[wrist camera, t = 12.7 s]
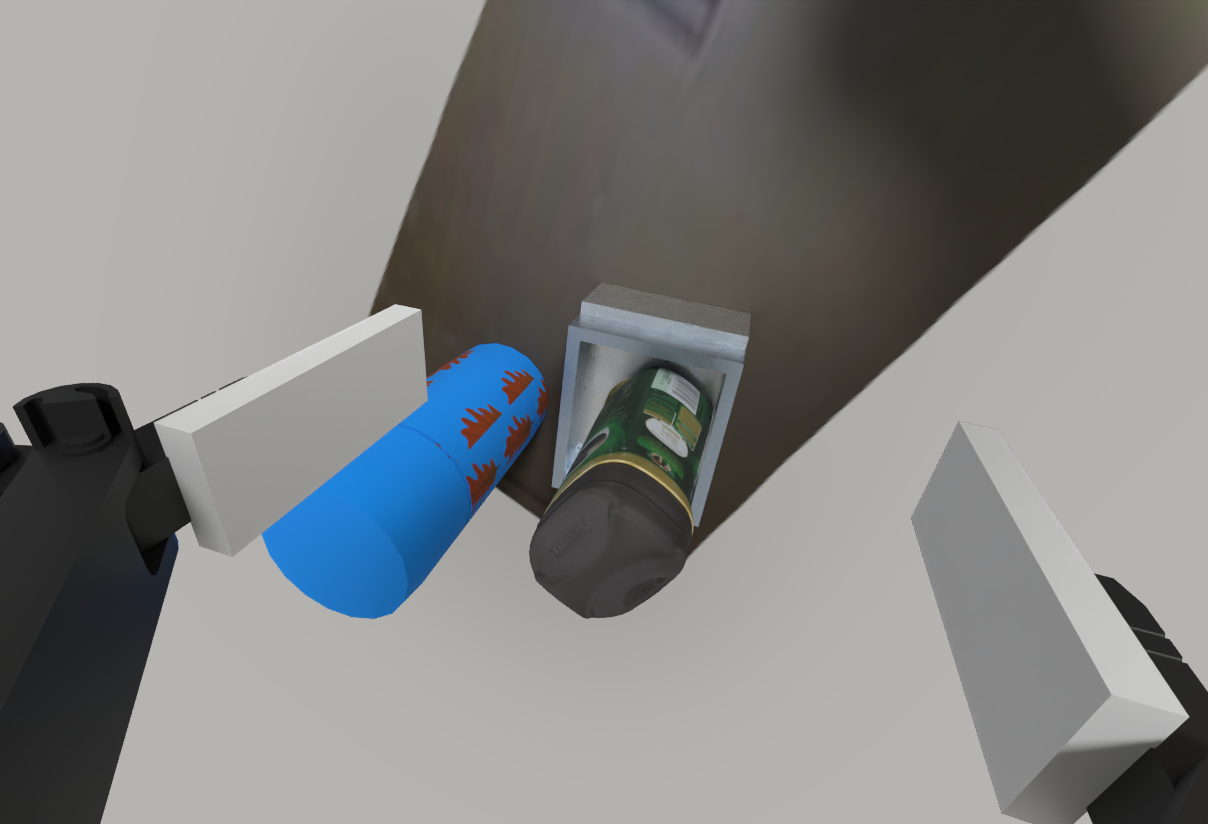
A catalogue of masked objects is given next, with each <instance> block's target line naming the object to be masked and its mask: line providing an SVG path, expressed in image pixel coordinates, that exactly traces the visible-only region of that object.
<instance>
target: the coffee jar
mask: <svg viewBox="0 0 1208 824" xmlns="http://www.w3.org/2000/svg"><path fill="white" fill-rule="evenodd" d="M711 419H712V414H711V409H710V406H709V404H708V402H707V400H706V399H705V398H704V396H703V395H702V394H701V393H700V392H699V391H698V390H697V389H696V388H695V387H694V386H693V385H692V384H691V383H690V382H689V381H687V380H686V379H685V378H683V377H682V376H680V375H679V374H677V373H676V372H674V371H672V370H670V369H667V368H663V367H649V368H646V369H643V370H641V371H639V372H638V373H636V374H635V375H634V376H633V377H631V378H630V379H629V380H628V381H627V382H626V383H625V384H623V385H622V386H621V387H620V388H619V389H618V390H617V392H616V393H615V394H614V395H613V396H612V397H611V398H610V399H609V401H608V402H607V403H606V404H605V406H604V407H603V409H602V410H601V412H600V413H599V415H598V417H597V418H596V420H595V422H594V424H593V426H592V428H591V430H590V432H589V434H588V436H587V438H586V440H585V442H584V444H583V446H582V448H581V449H580V451H579V453H578V455H577V457H576V459H575V461H574V462H573V464H572V466H571V468H570V470H569V472H568V473H567V475H566V477H565V479H564V480H563V482H562V484H561V486H560V487H559V489H558V491H557V492H556V494H555V496H554V497H553V499H552V501H551V503H550V504H549V506H548V508H547V509H546V511H545V513H544V514H543V516H542V518H541V520H540V522H539V523H538V526H537V529H536V531H535V533H534V535H533V537H532V541H531V544H530V551H529V554H530V562H531V566H532V569H533V572H534V575H535V579H536V581H537V582H538V583H539V584H540V585H541V586H543V588H545V589H546V590H547V591H548V592H549V593H550V594H552V595H553V596H554V597H555V598H556V599H558V600H559V601H560V602H562V603H563V604H564V605H566V606H567V607H569V608H570V609H571V610H573V611H574V612H576V613H577V614H579V615H580V616H582V617H583V618H587V619H588V618H606V617H614V616H618V615H622V614H624V613H627V612H629V611H631V610H632V609H634V608H635V607H637V606H638V605H640V604H641V603H643V602H645V601H646V600H648V599H649V598H651V597H652V596H653V595H655V594H656V593H657V592H659V591H660V590H661V589H662V588H663V587H665V586H666V585H667V584H668V583H669V582H670V581H672V580H673V579H674V578H675V577H676V576H677V575H678V574H679V573H680V572H681V570H682V569H683V567H684V565H685V562H686V559H687V554H688V548H689V544H690V540H691V537H692V534H693V514H692V509H691V506H690V502H691V497H692V493H693V489H694V485H695V480H696V476H697V472H698V468H699V464H700V461H701V457H702V454H703V451H704V447H705V444H706V441H707V437H708V433H709V429H710V424H711Z"/></svg>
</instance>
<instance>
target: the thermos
mask: <svg viewBox="0 0 1208 824" xmlns="http://www.w3.org/2000/svg"><path fill="white" fill-rule="evenodd" d="M426 382H427V395H428V401H427V402H425V403H424V404H423V405H422V406H420V407H419V408H418V409H417V410H415V411H414V412H413V413H412V414H410V415H409V416H408V417H407V418H405V419H404V420H403V421H402V422H400V423H399V424H398V425H397V426H395V427H394V428H393V429H392V430H390V431H389V432H388V433H387V434H385V435H384V436H383V437H382V438H380V439H379V440H378V441H377V442H375V443H374V444H373V445H372V446H370V447H369V448H368V449H367V450H365V451H364V452H363V453H362V454H360V455H359V456H358V457H357V458H355V459H354V460H353V461H352V462H350V463H349V464H348V465H347V466H345V467H344V468H343V469H342V470H340V471H339V472H338V473H337V474H335V475H334V476H333V477H332V478H330V479H329V480H328V481H327V482H325V483H324V484H323V485H322V486H320V487H319V488H318V489H317V490H315V491H314V492H313V493H312V494H310V495H309V496H308V497H307V498H305V499H304V500H303V501H302V502H300V503H299V504H298V505H297V506H295V507H294V508H293V509H292V510H290V511H289V512H288V513H287V514H285V515H284V516H283V517H282V518H280V519H279V520H278V521H277V522H275V523H274V524H273V525H272V526H270V527H269V528H268V529H267V530H265V531H264V532H263V533H262V536H263V539H264V541H265V544H266V547H267V549H268V552H269V554H270V556H271V557H272V559H273V560H274V562H275V563H276V564H277V566H278V567H279V568H280V570H281V571H282V573H283V574H284V576H285V577H286V578H288V579H289V580H290V581H291V582H292V583H293V584H294V585H295V586H296V587H297V588H299V589H300V590H301V591H302V592H303V593H304V594H305V595H307V596H308V597H310V598H312V599H313V600H315V601H316V602H318V603H320V604H321V605H323V606H325V607H326V608H328V609H331V610H333V611H336V612H339V613H342V614H345V615H348V616H350V617H358V618H371V619H375V618H378V617H382V616H385V615H388V614H392V613H393V612H394V611H395V610H396V609H397V608H398V607H399V606H400V605H401V604H402V603H403V602H404V601H405V600H406V599H407V598H408V597H409V596H410V595H411V594H412V593H413V592H414V591H415V590H416V589H417V588H418V587H419V586H420V585H421V584H422V583H423V581H424V580H425V579H426V577H427V576H428V575H429V573H430V572H431V571H432V569H433V568H434V567H435V566H436V564H437V563H438V562H439V560H440V559H441V557H442V556H443V555H444V554H445V552H446V551H447V550H448V548H449V547H450V546H451V544H452V543H453V542H454V540H455V539H456V538H457V536H458V535H459V534H460V533H461V531H462V530H463V528H464V527H465V526H466V524H467V523H468V522H469V521H470V519H471V518H472V517H473V515H474V514H475V512H476V511H477V510H478V509H479V507H480V506H481V505H482V503H483V502H484V501H485V500H486V498H487V497H488V496H489V494H490V493H491V492H492V490H493V489H494V488H495V486H496V485H497V484H498V482H499V481H500V480H501V478H502V477H503V476H504V474H505V473H506V472H507V470H508V469H509V468H510V467H511V465H512V464H513V463H514V461H515V460H516V459H517V457H518V456H519V455H520V453H521V452H522V451H523V449H524V448H525V447H526V445H527V444H528V443H529V441H530V440H531V439H532V437H533V436H534V434H535V432H536V431H537V429H538V428H539V426H540V424H541V423H542V421H543V420H544V417H545V414H546V411H547V408H548V392H547V387H546V384H545V382H544V380H543V377H542V375H541V373H540V371H539V370H538V369H537V368H536V366H535V365H534V364H533V363H532V362H531V361H530V360H529V358H528V357H526V356H524V355H523V354H521V353H520V352H518V351H517V350H515V349H513V348H512V347H508V346H504V345H500V344H496V343H492V344H482V345H477V346H475V347H474V348H472V349H470V350H468V351H466V352H465V353H463V354H461V355H460V356H458V357H456V358H455V359H453V360H451V361H450V362H448V363H446V364H445V365H443V366H442V367H441V368H439V369H438V370H436V371H435V372H434V373H432V374H431V375H430V376H428V377H427V378H426Z"/></svg>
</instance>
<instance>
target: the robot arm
mask: <svg viewBox="0 0 1208 824" xmlns="http://www.w3.org/2000/svg"><path fill="white" fill-rule="evenodd" d="M427 401H428V395H427V382H426V369H425V356H424V342H423V329H422V316H421V310H420V309H415V308H410V307H406V306H401V305H396V304H395V305H393V306H391V307H389V308H387V309H385V310H383V311H381V312H379V313H377V314H375V315H373V316H371V317H369V318H367V319H365V320H363V321H361V322H359V323H357V324H354V325H352V326H350V327H348V328H346V329H344V330H343V331H340V332H338V333H336V334H334V335H332V336H330V337H328V338H326V339H324V340H322V341H320V342H318V343H316V344H314V345H312V346H309V347H308V348H305V349H303V350H301V351H299V352H297V353H295V354H293V355H291V356H289V357H287V358H285V359H283V360H281V361H279V362H277V363H275V364H273V365H271V366H269V367H266V368H264V369H262V370H260V371H258V372H256V373H254V374H252V375H250V376H248V377H244V378H241V379H239V380H237V381H234V382H233V383H230V384H228V385H226V386H224V387H222V388H220V389H219V391H217V392H216V391H214V392H212V393H210V394H208V395H206V396H204V397H202V398H201V400H199V401H198V400H195V401H193V402H191V403H189V404H187V405H185V406H183V407H181V408H179V409H177V410H175V411H173V412H171V413H169V414H167V415H165V416H162V417H160V418H158V419H156V420H154V421H152V422H150V423H148V424H146V425H144V426H142V427H140V428H138V429H136V430H134V429H133V426H132V424H131V421H130V419H129V416H128V414H127V411H126V409H125V406H124V404H123V401H122V399H121V396H120V393H119V391H118V390H117V389H115V388H114V387H113V386H111V385H106V384H101V383H79V384H72V385H65V386H59V387H55V388H52V389H48V390H44V391H41V392H38V393H36V394H34V395H31V396H29V397H26V398H24V399H22V400H21V401H20V402H18V403H17V404H15V405H14V406H13V409H14V410H15V413H16V415H17V416H18V418H19V420H20V422H21V424H22V426H23V428H24V430H25V432H26V434H27V436H28V438H29V440H30V442H31V444H32V446H28V445H15V444H14V443H13V441H12V439H11V437H10V435H9V433H8V431H7V429H6V428H5V426H4V424H3V423H1V422H0V824H100V823H101V819H102V816H103V812H104V809H105V805H106V801H107V798H108V795H109V791H110V788H111V784H112V781H113V777H114V774H115V770H116V767H117V763H118V760H119V755H120V753H121V749H122V746H123V742H124V739H125V735H126V732H127V728H128V724H129V721H130V717H131V714H132V710H133V707H134V703H135V700H136V696H137V693H138V689H139V686H140V682H141V679H142V675H143V672H144V668H145V665H146V661H147V658H148V654H149V651H150V647H151V644H152V640H153V636H154V633H155V630H156V626H157V623H158V619H159V616H160V612H161V609H162V605H163V602H164V598H165V595H166V591H167V588H168V584H169V580H170V577H171V574H172V570H173V567H174V563H175V560H176V556H177V553H178V540H177V537H176V535H175V532H176V531H178V530H179V529H180V528H182V527H183V526H185V525H186V524H188V523H189V522H191V524H192V527H193V530H194V532H195V535H196V538H197V540H198V543H199V546H202V547H204V548H208V549H210V550H213V551H216V552H219V553H222V554H225V555H228V556H231V557H233V556H234V555H236V554H237V553H238V552H239V551H241V550H242V549H243V548H244V547H245V546H247V545H248V544H249V543H250V542H252V541H253V540H254V539H256V538H257V537H258V536H259V535H260V534H262V533H263V532H264V531H265V530H267V529H268V528H269V527H270V526H272V525H273V524H274V523H275V522H277V521H278V520H279V519H280V518H282V517H283V516H284V515H285V514H287V513H288V512H289V511H290V510H292V509H293V508H294V507H295V506H297V505H298V504H299V503H300V502H302V501H303V500H304V499H305V498H307V497H308V496H309V495H310V494H312V493H313V492H314V491H315V490H317V489H318V488H319V487H320V486H322V485H323V484H324V483H325V482H327V481H328V480H329V479H330V478H332V477H333V476H334V475H335V474H337V473H338V472H339V471H340V470H342V469H343V468H344V467H345V466H347V465H348V464H349V463H350V462H352V461H353V460H354V459H355V458H357V457H358V456H359V455H360V454H362V453H363V452H364V451H365V450H367V449H368V448H369V447H370V446H372V445H373V444H374V443H375V442H377V441H378V440H379V439H380V438H382V437H383V436H384V435H385V434H387V433H388V432H389V431H390V430H392V429H393V428H394V427H395V426H397V425H398V424H399V423H400V422H402V421H403V420H404V419H405V418H407V417H408V416H409V415H410V414H412V413H413V412H414V411H415V410H417V409H418V408H419V407H420V406H422V405H423V404H424V403H425V402H427ZM911 519H912V523H913V526H914V529H915V533H916V536H917V539H918V543H919V546H920V549H921V552H922V556H923V558H924V562H925V565H926V569H927V572H928V575H929V578H930V582H931V585H932V588H933V591H934V594H935V598H936V601H937V604H938V607H939V611H940V614H941V617H942V620H943V624H944V627H945V630H946V633H947V637H948V640H949V643H950V647H951V650H952V653H953V657H954V660H955V663H956V666H957V670H958V673H959V676H960V679H961V683H962V686H963V689H964V693H965V696H966V699H967V702H968V705H969V709H970V712H971V715H972V718H973V722H974V725H975V728H976V732H977V735H978V738H979V741H980V745H981V748H982V751H983V754H984V758H985V761H986V764H987V767H988V770H989V774H990V777H991V781H992V784H993V787H994V790H995V794H996V797H997V800H998V803H999V807H1000V810H1001V813H1002V814H1006V815H1008V816H1011V817H1014V818H1017V819H1020V820H1023V821H1026V822H1029V823H1032V824H1074V823H1075V822H1076V821H1077V820H1078V819H1079V818H1080V817H1081V816H1082V815H1084V814H1085V813H1086V812H1087V811H1088V814H1089V816H1090V818H1091V821H1092V823H1093V824H1208V692H1207V690H1206V689H1205V688H1204V686H1203V685H1202V683H1201V682H1200V681H1199V679H1198V678H1197V677H1196V675H1195V674H1194V672H1193V671H1192V670H1191V668H1190V667H1189V666H1188V664H1187V663H1183V662H1182V656H1181V655H1180V653H1179V652H1178V650H1177V649H1176V648H1175V646H1174V645H1173V643H1172V642H1171V641H1170V639H1166V638H1165V633H1164V631H1163V630H1162V628H1161V627H1160V626H1159V624H1158V623H1157V621H1156V620H1155V619H1154V617H1153V616H1152V615H1151V613H1150V612H1149V610H1148V609H1147V608H1146V606H1145V605H1144V604H1143V603H1141V602H1140V601H1139V600H1138V599H1137V598H1136V597H1134V596H1133V595H1132V594H1131V593H1130V592H1129V591H1127V590H1126V589H1125V588H1124V587H1123V586H1121V584H1119V583H1118V582H1117V581H1116V580H1115V579H1113V578H1109V577H1106V576H1102V575H1098V574H1094V573H1093V572H1092V570H1091V569H1090V567H1089V566H1088V564H1087V563H1086V561H1085V560H1084V558H1083V557H1082V555H1081V554H1080V552H1079V551H1078V549H1077V548H1076V546H1075V545H1074V543H1073V542H1072V540H1071V539H1070V537H1069V536H1068V534H1067V533H1066V531H1065V530H1064V528H1063V527H1062V525H1061V524H1060V522H1059V521H1058V519H1057V518H1056V516H1055V515H1054V513H1053V512H1052V510H1051V509H1050V507H1049V506H1048V504H1047V503H1046V501H1045V500H1044V498H1043V497H1042V495H1041V494H1040V492H1039V491H1038V489H1037V488H1036V486H1035V485H1034V483H1033V482H1032V480H1031V479H1030V477H1029V476H1028V474H1027V473H1026V471H1025V470H1024V468H1023V467H1022V465H1021V464H1020V462H1019V461H1018V459H1017V458H1016V456H1015V455H1014V453H1013V452H1012V450H1011V449H1010V447H1009V446H1008V444H1007V443H1006V441H1005V440H1004V438H1003V437H1002V435H1001V434H1000V432H999V431H998V430H997V429H994V428H989V427H984V426H980V425H975V424H970V423H965V422H960V421H959V422H958V424H957V426H956V428H955V430H954V432H953V434H952V436H951V438H950V440H949V442H948V444H947V446H946V448H945V450H944V453H943V454H942V456H941V458H940V460H939V463H938V464H937V467H936V469H935V471H934V473H933V475H932V477H931V479H930V481H929V483H928V485H927V487H926V489H925V491H924V493H923V495H922V497H921V499H920V501H919V503H918V505H917V507H916V509H915V511H914V513H913V515H912V517H911Z"/></svg>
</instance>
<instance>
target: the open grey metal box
mask: <svg viewBox="0 0 1208 824" xmlns="http://www.w3.org/2000/svg"><path fill="white" fill-rule="evenodd" d="M750 320H751V313H746V312H741V311H737V310H732V309H727V308H722V307H717V306H712V305H708V304H703V303H698V302H693V301H688V300H683V299H679V298H674V297H669V296H664V295H659V294H654V293H650V292H645V291H640V290H635V289H630V288H625V287H621V286H616V285H611V284H606V283H601V284H600V285H599V286H598V287H597V288H596V289H595V290H593V291H592V292H591V293H590V294H589V295H588V296H587V297H586V298H585V299H584V300H583V301H582V305H581V314H580V315H579V316H578V317H577V318H576V319H575V320H574V321H572V322H571V323H570V324H569V327H568V337H567V346H566V356H565V365H564V375H563V384H562V394H561V403H560V413H559V422H558V432H557V441H556V451H555V460H554V469H553V479H552V487H554V488H558V489H559V487H560V486H561V484H562V482H563V480H564V479H565V477H566V475H567V473H568V472H569V470H570V468H571V466H572V464H573V462H574V461H575V459H576V457H577V455H578V453H579V451H580V449H581V448H582V446H583V444H584V442H585V440H586V438H587V436H588V434H589V432H590V430H591V428H592V426H593V424H594V422H595V420H596V418H597V417H598V415H599V413H600V412H601V410H602V409H603V407H604V406H605V404H606V403H607V402H608V401H609V399H610V398H611V397H612V396H613V395H614V394H615V393H616V392H617V390H618V389H619V388H620V387H621V386H622V385H623V384H625V383H626V382H627V381H628V380H629V379H630V378H631V377H633V376H634V375H635V374H636V373H638V372H639V371H641V370H643V369H646V368H649V367H663V368H667V369H670V370H672V371H674V372H676V373H677V374H679V375H680V376H682V377H683V378H685V379H686V380H687V381H689V382H690V383H691V384H692V385H693V386H694V387H695V388H696V389H697V390H698V391H699V392H700V393H701V394H702V395H703V396H704V398H705V399H706V400H707V402H708V404H709V406H710V409H711V414H712V419H711V424H710V429H709V433H708V437H707V441H706V444H705V447H704V451H703V454H702V457H701V461H700V464H699V468H698V472H697V476H696V480H695V485H694V489H693V493H692V497H691V502H690V506H691V509H692V514H693V526H697V527H698V526H699V523H700V519H701V516H702V512H703V509H704V505H705V502H706V498H707V494H708V491H709V487H710V484H711V480H712V477H713V473H714V470H715V466H716V462H717V459H718V455H719V452H720V448H721V445H722V441H723V438H724V434H725V430H726V427H727V423H728V420H729V416H730V413H731V409H732V406H733V402H734V398H735V395H736V391H737V388H738V384H739V381H740V377H741V374H742V370H743V366H744V360H745V350H746V346H747V342H748V339H749V331H750Z"/></svg>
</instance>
